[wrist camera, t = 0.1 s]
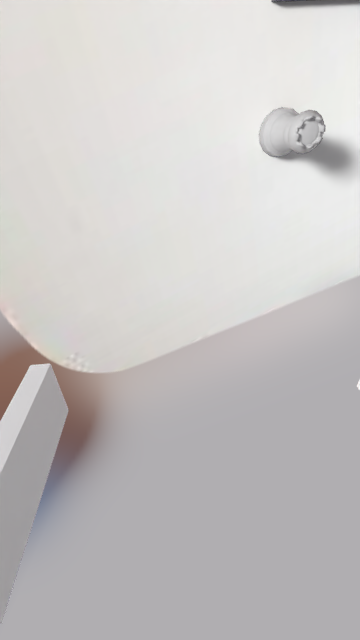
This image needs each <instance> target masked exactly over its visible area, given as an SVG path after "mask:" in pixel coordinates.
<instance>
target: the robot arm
mask: <svg viewBox="0 0 360 640" xmlns="http://www.w3.org/2000/svg"><path fill="white" fill-rule="evenodd" d="M357 387H358V388H359V389H360V380H359V382H358V384H357ZM67 413H68V407H67V405H66V402H65V400H64V397H63V395H62V392H61V390H60V387H59V384H58V382H57V379H56V377H55V374H54V372H53V369H52V367H51V364H40V365H31V366H30V367H29V369H28V371H27V373H26V375H25V377H24V379H23V380H22V382H21V384H20V386H19V388H18V390H17V392H16V393H15V395H14V397H13V399H12V401H11V403H10V404H9V406H8V408H7V410H6V412H5V414H4V416H3V418H2V419H1V421H0V624H1V623H2V620H3V617H4V614H5V611H6V607H7V604H8V601H9V598H10V595H11V592H12V588H13V585H14V582H15V579H16V576H17V572H18V569H19V566H20V563H21V560H22V556H23V553H24V550H25V547H26V543H27V541H28V538H29V534H30V531H31V528H32V525H33V522H34V518H35V515H36V512H37V509H38V506H39V502H40V499H41V496H42V493H43V489H44V487H45V483H46V480H47V477H48V474H49V471H50V467H51V464H52V461H53V458H54V455H55V451H56V448H57V445H58V442H59V439H60V436H61V433H62V429H63V426H64V423H65V420H66V417H67Z"/></svg>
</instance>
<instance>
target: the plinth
mask: <svg viewBox="0 0 360 640" xmlns="http://www.w3.org/2000/svg"><path fill="white" fill-rule="evenodd" d="M276 1H304V0H272V2H276Z"/></svg>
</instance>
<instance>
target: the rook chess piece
mask: <svg viewBox="0 0 360 640" xmlns="http://www.w3.org/2000/svg"><path fill="white" fill-rule="evenodd" d="M324 132H325V125H324V121H323V119H322V116H321V115H320V114H319V113H318V112H317V111H313V110H307V111H304V112H301V113H300V114H298V113H297V112H296V111H295V110H294V109H291V108H283V107H281V108H278V109H275V110H273V111H272V112H270V113H269V114H268V115H267V116H266V117H265V119H264V121H263V122H262V124H261V127H260V131H259V143H260V145H261V147H262V149H263V151H264V152H265V153H267V154H268V155H269V156H276V157H277V156H283V155H286V154H288V153H289V152H291V151H292V150H293V151H294V152H296V153H300V154H304V153H307V152H310V151H311V150H313V149H314V148H315V147H316V146H317V145H318V144H319V143H320V142H321V140H322V139H323V138H322V136H323V133H324Z"/></svg>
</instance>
